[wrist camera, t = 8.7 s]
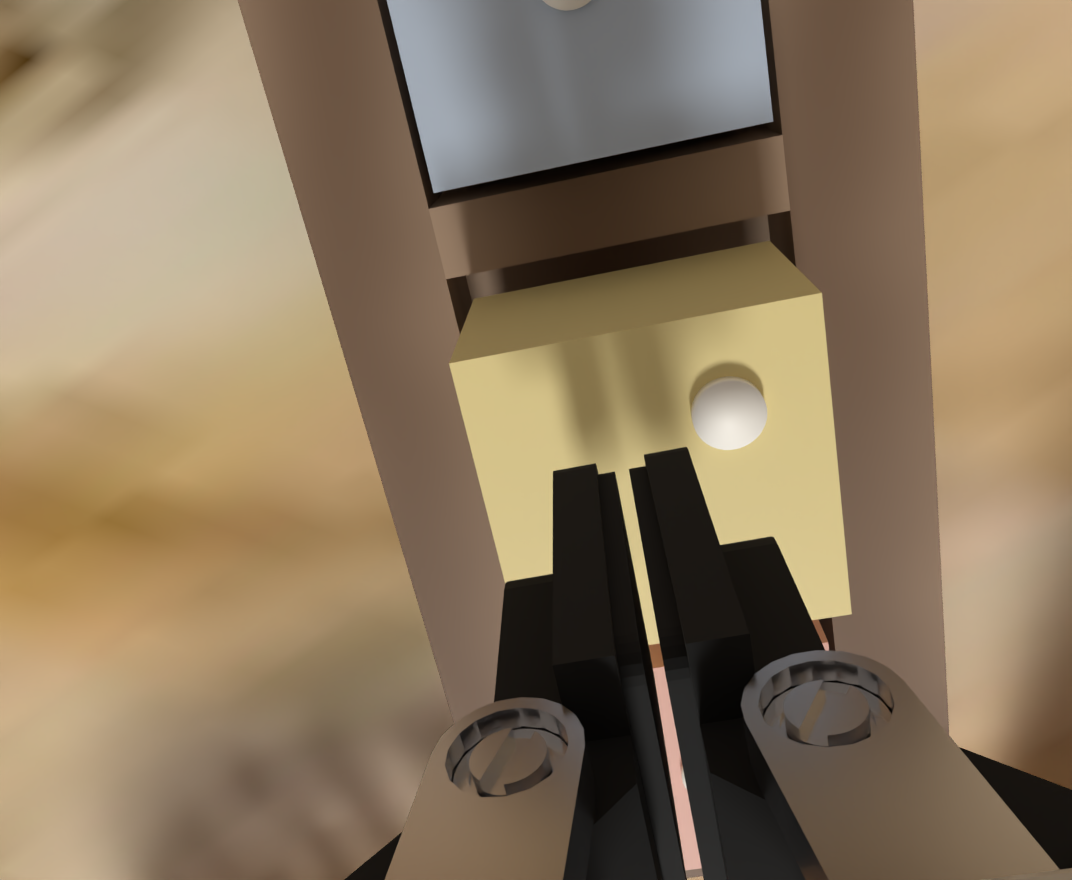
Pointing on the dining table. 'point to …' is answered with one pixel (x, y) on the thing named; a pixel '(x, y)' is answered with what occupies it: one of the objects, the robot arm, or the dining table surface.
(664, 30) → the tile
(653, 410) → the tile
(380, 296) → the wooden tile rack
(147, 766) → the dining table surface
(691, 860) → the three-pip tile
